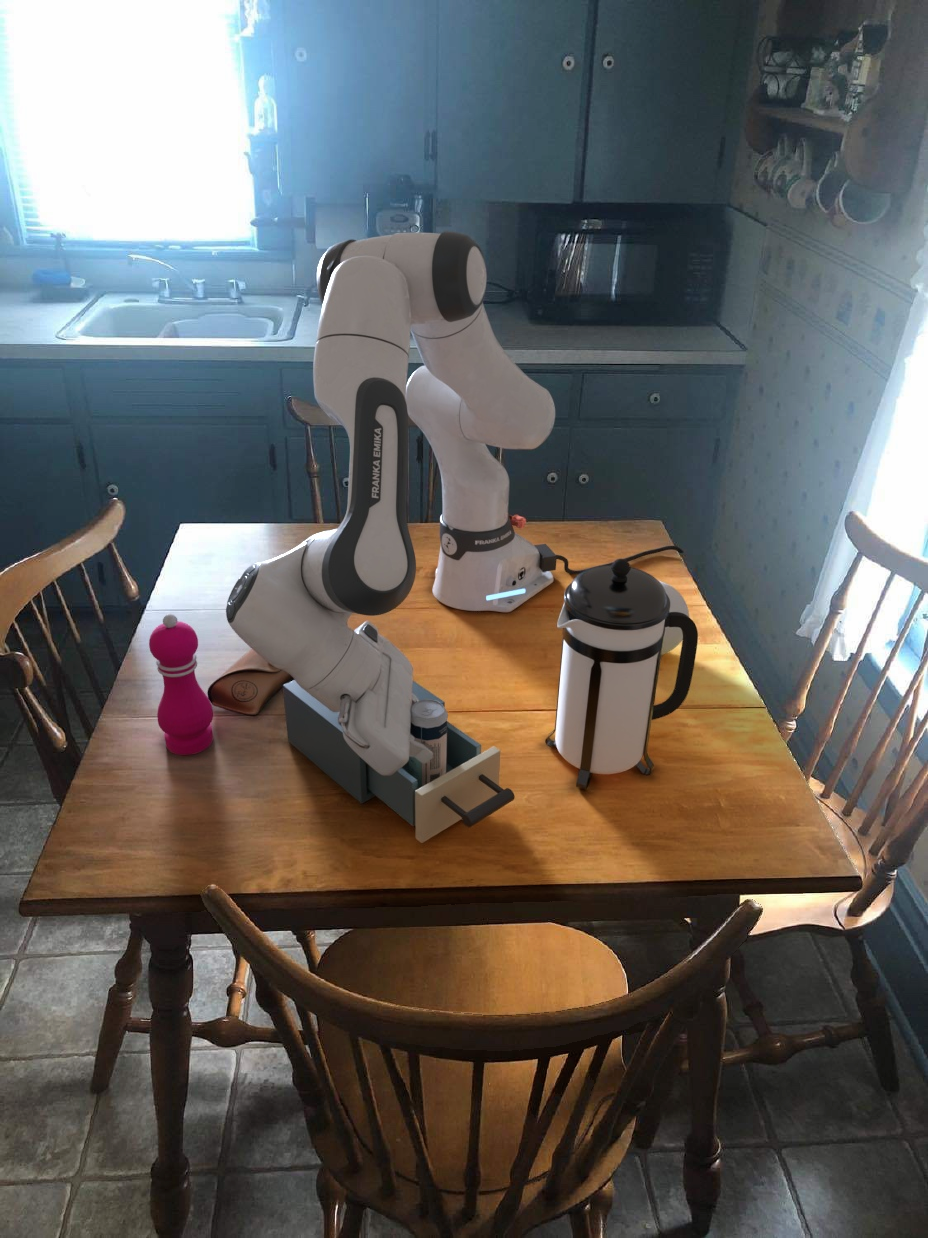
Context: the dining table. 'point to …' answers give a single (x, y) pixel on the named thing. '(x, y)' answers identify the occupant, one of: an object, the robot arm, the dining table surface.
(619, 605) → the coffee press
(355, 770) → the cabinet
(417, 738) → the beer can
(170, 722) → the pepper mill
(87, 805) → the dining table surface
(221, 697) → the sunglasses case
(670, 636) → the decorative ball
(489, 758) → the drawer
